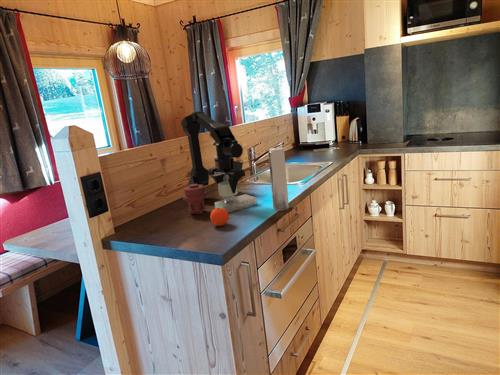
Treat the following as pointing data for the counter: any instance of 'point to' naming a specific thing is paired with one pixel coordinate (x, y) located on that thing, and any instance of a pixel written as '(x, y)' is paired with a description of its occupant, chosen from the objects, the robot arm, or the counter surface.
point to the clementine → (219, 216)
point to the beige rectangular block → (236, 202)
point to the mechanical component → (195, 198)
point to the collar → (225, 189)
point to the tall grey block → (278, 179)
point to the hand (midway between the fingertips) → (228, 191)
